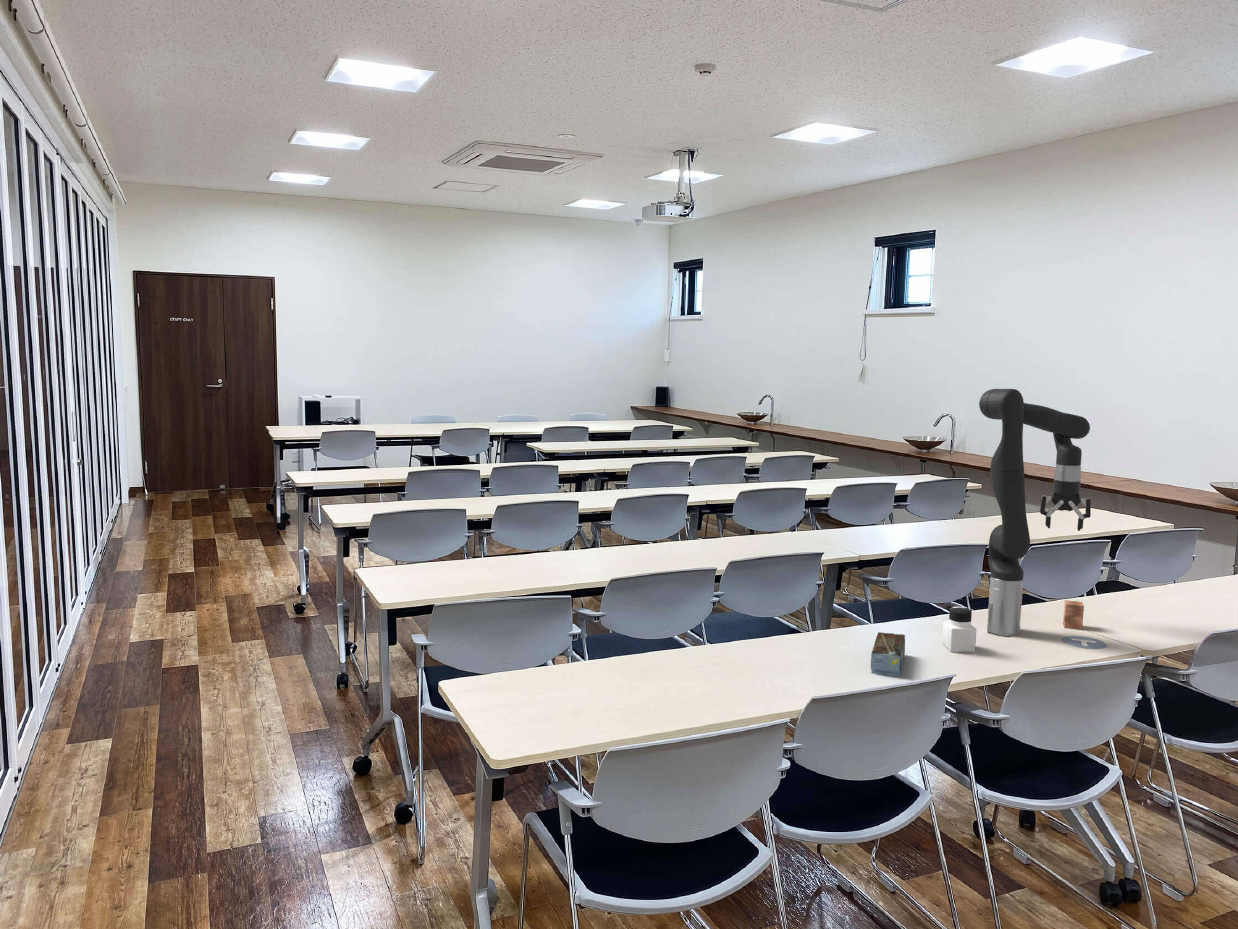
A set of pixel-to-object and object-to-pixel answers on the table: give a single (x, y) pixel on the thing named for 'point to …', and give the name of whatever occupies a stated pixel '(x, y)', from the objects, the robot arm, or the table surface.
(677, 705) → the table surface
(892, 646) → the grey boxy piece
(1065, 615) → the terracotta block
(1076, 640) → the letter mat
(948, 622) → the medicine bottle
